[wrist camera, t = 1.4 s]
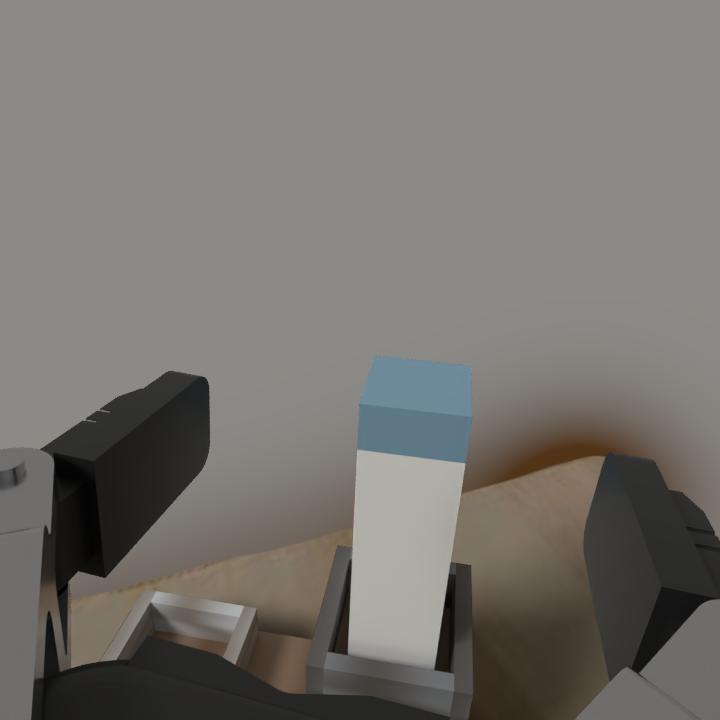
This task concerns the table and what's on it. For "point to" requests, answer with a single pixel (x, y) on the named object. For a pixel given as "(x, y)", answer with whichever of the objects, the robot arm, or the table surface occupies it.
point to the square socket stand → (315, 645)
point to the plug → (406, 506)
